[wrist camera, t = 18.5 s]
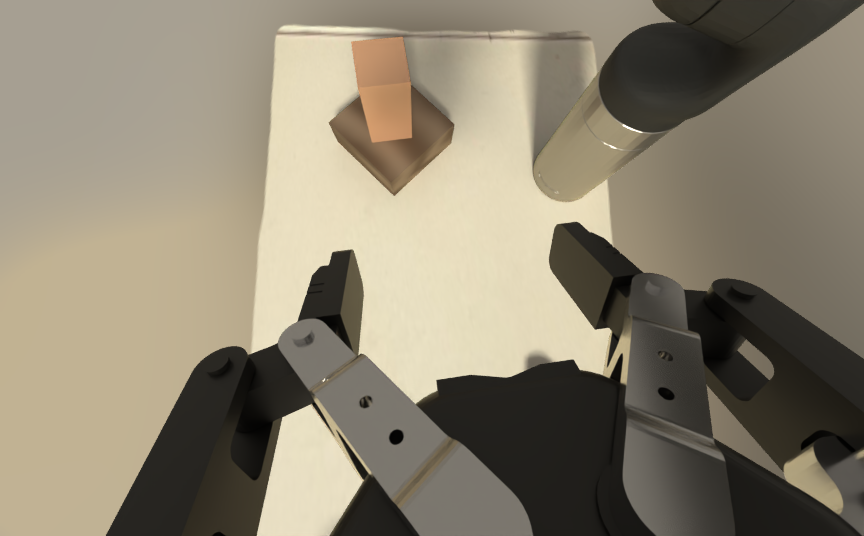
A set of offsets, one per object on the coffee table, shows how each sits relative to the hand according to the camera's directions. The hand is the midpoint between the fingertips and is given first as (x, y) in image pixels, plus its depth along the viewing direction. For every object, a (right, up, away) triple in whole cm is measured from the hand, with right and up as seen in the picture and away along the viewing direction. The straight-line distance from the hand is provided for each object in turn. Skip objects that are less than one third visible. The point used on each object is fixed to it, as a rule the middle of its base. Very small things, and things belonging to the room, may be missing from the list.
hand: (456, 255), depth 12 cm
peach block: (-7, +19, +29) cm, 36 cm away
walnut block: (-7, +18, +34) cm, 39 cm away
